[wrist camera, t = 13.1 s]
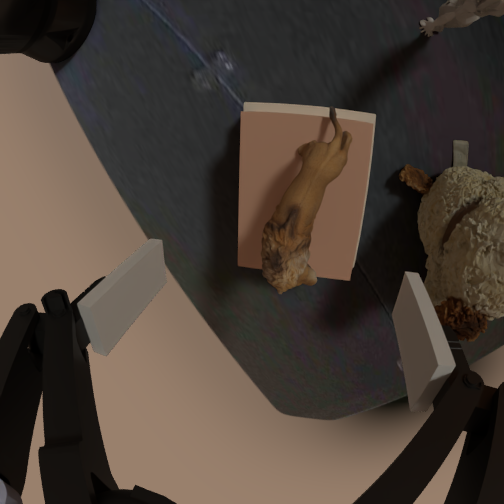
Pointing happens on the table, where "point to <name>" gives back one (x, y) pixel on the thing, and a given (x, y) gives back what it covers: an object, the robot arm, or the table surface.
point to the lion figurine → (302, 211)
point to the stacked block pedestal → (288, 167)
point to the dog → (462, 243)
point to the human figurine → (462, 14)
